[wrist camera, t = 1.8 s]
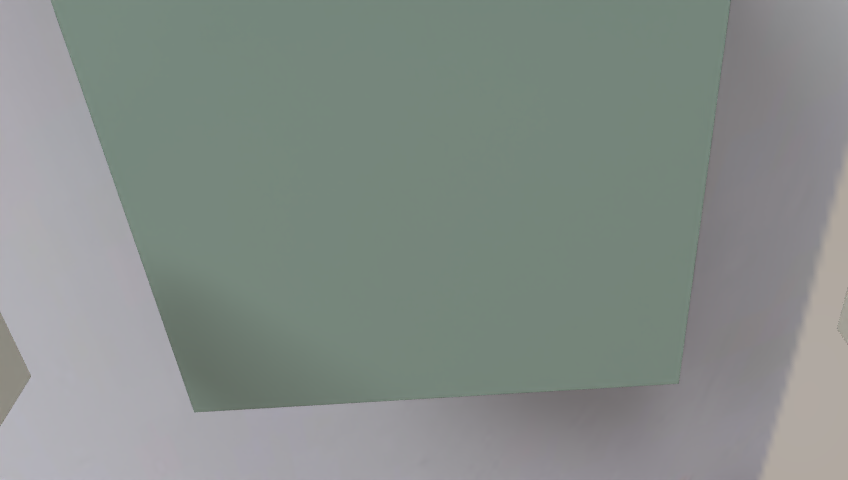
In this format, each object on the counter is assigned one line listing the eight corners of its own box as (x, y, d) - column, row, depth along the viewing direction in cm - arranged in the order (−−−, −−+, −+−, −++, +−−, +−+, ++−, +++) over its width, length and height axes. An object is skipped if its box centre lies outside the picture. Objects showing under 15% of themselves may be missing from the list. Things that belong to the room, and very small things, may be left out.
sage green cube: (179, -173, 18) (16, -101, 11) (617, -215, 18) (753, -168, 10) (264, 200, 24) (194, 412, 17) (599, 176, 23) (678, 383, 16)
